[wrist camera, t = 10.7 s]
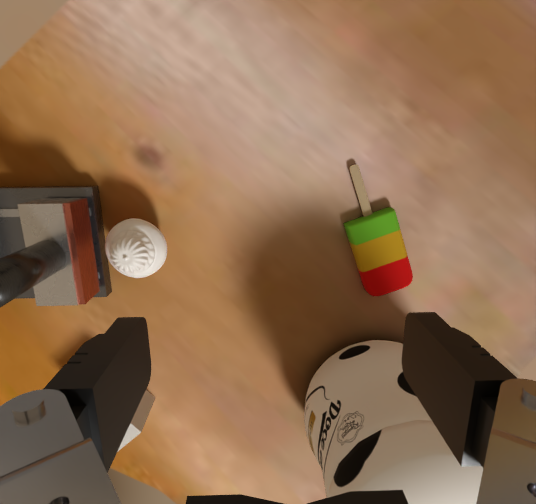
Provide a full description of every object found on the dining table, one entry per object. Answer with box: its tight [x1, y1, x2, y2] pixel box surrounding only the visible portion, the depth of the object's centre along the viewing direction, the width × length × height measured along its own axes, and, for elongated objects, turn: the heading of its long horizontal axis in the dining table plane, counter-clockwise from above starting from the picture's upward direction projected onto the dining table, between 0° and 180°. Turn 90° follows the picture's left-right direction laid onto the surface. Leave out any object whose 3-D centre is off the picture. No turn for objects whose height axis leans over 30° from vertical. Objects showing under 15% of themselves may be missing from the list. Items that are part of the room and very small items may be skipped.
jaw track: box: [0, 186, 112, 298], centre depth 38 cm, size 12×16×6 cm
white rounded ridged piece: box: [105, 218, 167, 278], centre depth 38 cm, size 6×6×7 cm
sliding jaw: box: [0, 198, 100, 307], centre depth 33 cm, size 10×5×13 cm, turn 0°
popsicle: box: [343, 164, 413, 296], centre depth 41 cm, size 6×15×2 cm, turn 20°
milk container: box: [304, 340, 483, 504], centre depth 39 cm, size 17×17×18 cm
